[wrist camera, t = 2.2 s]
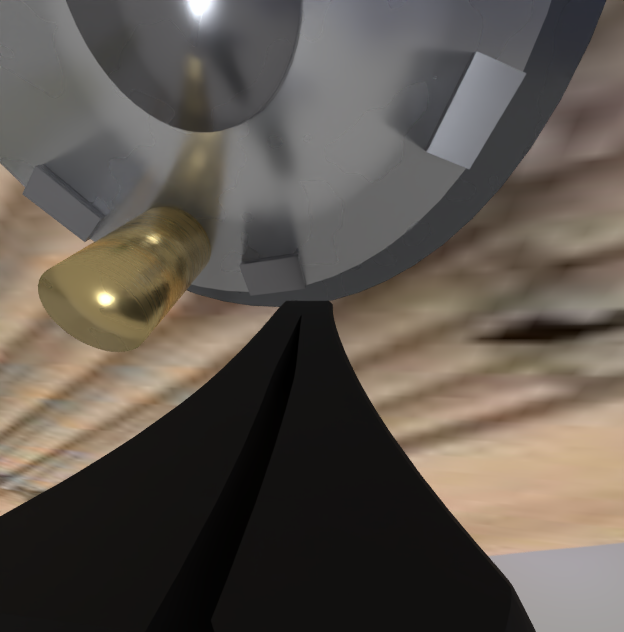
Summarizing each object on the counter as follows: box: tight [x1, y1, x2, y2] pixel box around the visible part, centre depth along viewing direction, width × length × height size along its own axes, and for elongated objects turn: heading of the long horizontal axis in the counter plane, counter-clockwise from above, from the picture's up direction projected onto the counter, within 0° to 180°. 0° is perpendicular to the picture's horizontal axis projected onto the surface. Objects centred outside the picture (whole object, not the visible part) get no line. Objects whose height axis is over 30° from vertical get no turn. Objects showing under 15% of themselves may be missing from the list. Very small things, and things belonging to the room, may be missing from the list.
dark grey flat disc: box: [187, 0, 606, 307], centre depth 9 cm, size 20×20×1 cm
